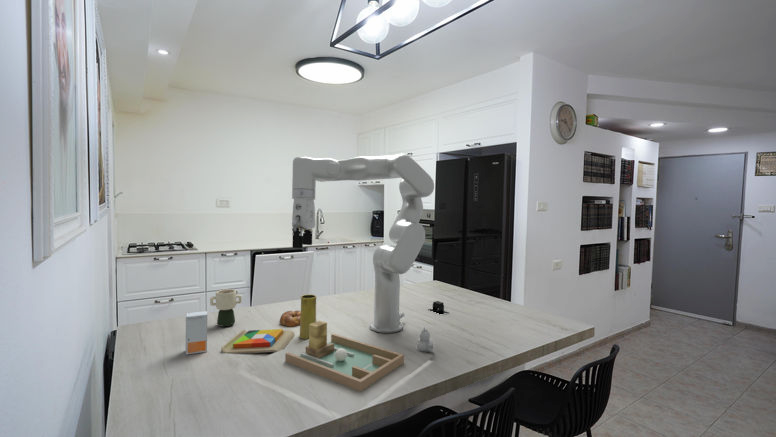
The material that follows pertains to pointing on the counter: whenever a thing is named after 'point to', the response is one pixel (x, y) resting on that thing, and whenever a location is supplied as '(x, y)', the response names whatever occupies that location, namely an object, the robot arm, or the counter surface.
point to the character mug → (225, 306)
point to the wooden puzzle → (258, 341)
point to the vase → (307, 314)
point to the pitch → (350, 363)
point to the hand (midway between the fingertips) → (302, 246)
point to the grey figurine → (425, 342)
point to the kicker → (318, 340)
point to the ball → (341, 354)
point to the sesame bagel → (291, 318)
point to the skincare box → (196, 332)
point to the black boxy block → (438, 305)
